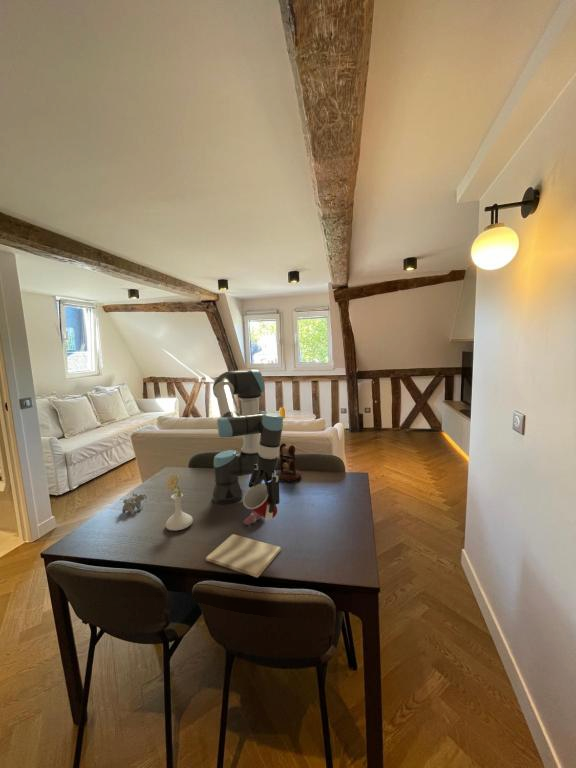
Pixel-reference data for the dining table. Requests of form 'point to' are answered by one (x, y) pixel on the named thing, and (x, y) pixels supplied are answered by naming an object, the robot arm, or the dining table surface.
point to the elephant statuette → (133, 503)
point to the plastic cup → (258, 500)
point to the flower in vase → (177, 507)
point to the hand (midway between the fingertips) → (260, 513)
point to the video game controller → (252, 518)
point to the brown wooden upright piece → (288, 464)
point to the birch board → (244, 555)
